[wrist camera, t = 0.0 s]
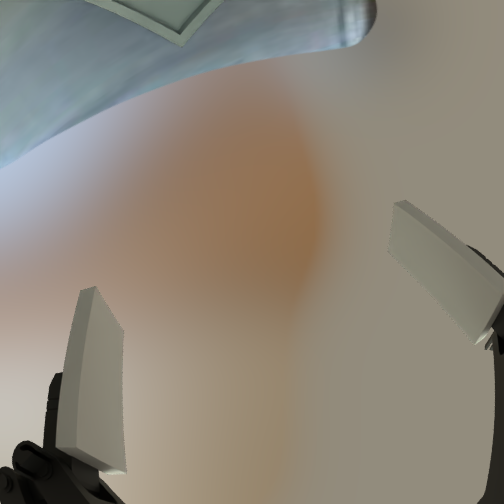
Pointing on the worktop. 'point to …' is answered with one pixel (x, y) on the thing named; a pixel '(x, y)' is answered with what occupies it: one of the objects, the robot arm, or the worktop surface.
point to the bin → (164, 15)
